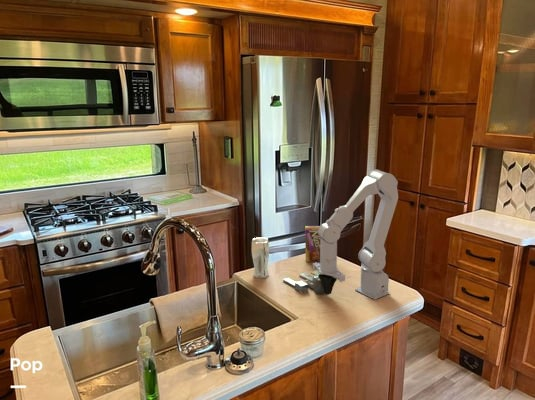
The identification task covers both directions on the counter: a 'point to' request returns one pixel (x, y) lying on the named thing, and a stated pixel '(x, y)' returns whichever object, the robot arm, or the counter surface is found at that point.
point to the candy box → (312, 243)
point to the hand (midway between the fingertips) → (328, 293)
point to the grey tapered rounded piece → (316, 286)
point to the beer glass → (260, 257)
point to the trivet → (315, 272)
